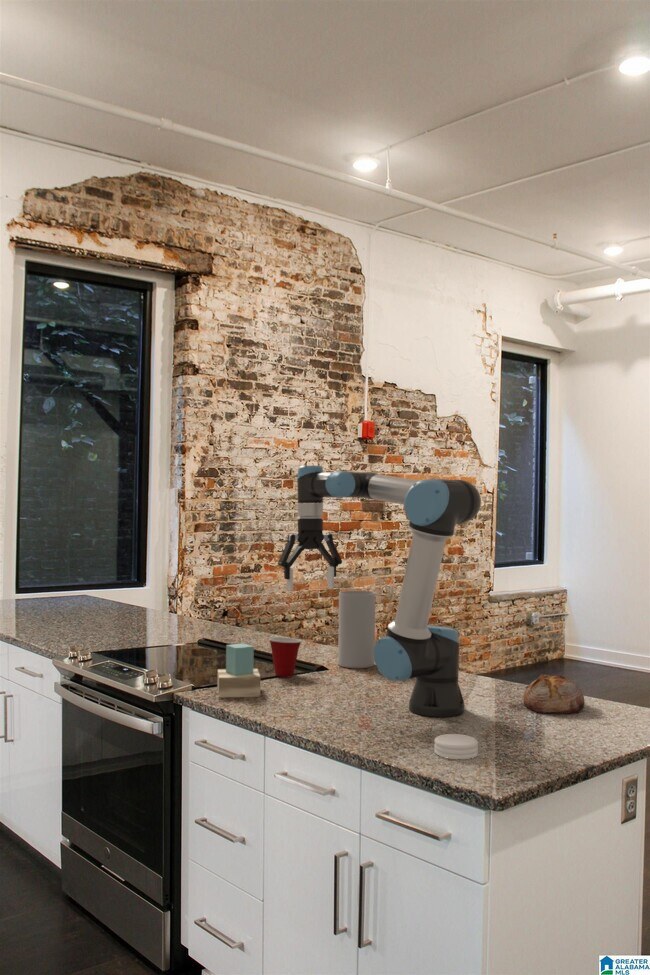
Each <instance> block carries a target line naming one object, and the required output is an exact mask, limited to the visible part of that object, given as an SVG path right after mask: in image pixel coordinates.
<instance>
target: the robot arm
mask: <svg viewBox="0 0 650 975" xmlns="http://www.w3.org/2000/svg"><path fill="white" fill-rule="evenodd" d="M323 470H324V469H323V467H322V466H321V465H301V466H299V467H298V469H297V479H296V482H297V516H298V517H299V518H298V519H297V534H292V533H289V534H288V535H287V541H286V544H285V546H284V548H283V551H282V553H281V555H280V558H279V560H278V562H277V565H278V567H281V568H283V579H284V580H286V591H290V592H294V568H292V566H293V565H294V563H295V562H296V560H298V558H299V556H300V555H301V554H302V553H303V551H305V550H317V551H319V553H320V554H321V556H322V558H324V560H325V561H326V562H327V563H328V565H327V566H326V567H327V572H326V574H327V581H326V582H327V589H331V590H333V589H335V578H336V577H337V567H338V566H339V565H342V564H343V561H342V558H341V556H340V554H339V551H338V549H337V547H336V544H335V543H334V536H333V534H332V533H325V534H323V532H324V519H323V518H322V517H324V498H337V499H338V498H360V499H361V498H362V499H369V500H374V501H375V500H376V501H383V502H387V503H393V504H399V505H403V508H404V512H406V513H405V515H406V519H407V520H408V521H409V523H408V528H409V529H410V531H411V532H412V537H411V542H410V547H409V551H408V556H407V562H406V566H405V571H404V575H403V581H402V585H401V590H400V595H399V599H398V604H397V609H396V614H395V619H394V620H392V621H391V622H389V623H388V625H387V629H386V632H385V633H386V634H385V636H382V637H381V638H380V639H378V640H377V641H375V647H374V660H375V662H374V664H375V666H376V667H377V670H378V671H379V672H380V674H381V675H382V676H383V677H384V678H385V679H388V680H390V681H394V682H397V681H407V680H409V679H415V683H414V685H413V688H412V692H411V696H410V698H409V701H408V703H409V704H408V710H409V711H410V712H411V713H413V714H416V715H421V716H426V717H435V718H443V717H444V718H445V717H449V718H451V717H456V716H457V717H458V716H460V715H462V714H464V713H465V701H464V698H463V695H462V691H461V687H460V685H459V684H460V683H459V670H460V669H459V666H460V665H459V662H460V661H459V659H460V657H459V656H460V654H459V653H460V645H461V644H460V639H459V636H460V635H459V632H458V631H457V630H456V629H454V628H451V627H447V626H446V627H445V626H437V625H429V620H430V615H431V611H432V607H433V602H434V596H435V593H436V592H435V591H436V589H437V588H436V587H437V583H438V578H439V574H440V570H441V565H442V560H443V555H444V552H445V551H444V550H445V546H446V542H447V540H449V539H450V538H452V537H454V532H455V527H456V525H462V524H466V523H468V522H471V521H472V520H473V519H475V518H476V516H477V515H478V513H479V512H480V510H481V507H482V506H481V504H482V499H481V494H480V491H479V490H478V489H477V488H476V486H475V485H473V484H472V483H471V482H469V481H467V480H465V479H446V478H445V479H444V478H442V479H441V478H434V477H433V478H427V479H421V480H419V479H413V478H412V479H411V478H405V477H399V476H391V475H384V474H379V473H377V472H368V471H367V472H359V471H358V472H354V471H345V470H335V471H323ZM323 540H324V541H323ZM296 542H298V544H297V545H296V546H295V548H294V550H293V547H294V544H295V543H296ZM322 542H325V543H326V546H327V548H328V550H327V549H326V547H325V545H324V544H323V543H322ZM292 550H293V551H292ZM291 552H292V553H291ZM329 552H330V553H329ZM329 565H330V566H329Z"/></svg>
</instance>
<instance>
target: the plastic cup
mask: <svg viewBox="0 0 650 975" xmlns="http://www.w3.org/2000/svg"><path fill="white" fill-rule="evenodd" d="M268 640H269V643H270V649H271V655H272V662H273V666H274V669H273V670H274V673H275V674H274V675H275V676H276V677H278V678H279V677H280V678H289V677H293V676H294V673H295V669H296V665H297V664H296V663H297V660H298V653H299V649H300V646H301V643H302V642H303V639H299V638H295V637H294V638H293V637H280V636H279V637H276V636H275V637H269V638H268Z"/></svg>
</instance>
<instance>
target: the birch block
mask: <svg viewBox="0 0 650 975" xmlns="http://www.w3.org/2000/svg"><path fill="white" fill-rule="evenodd" d="M216 684H217V695H218V698H252V697H253V698H254V697H257V698H258V697H261V674H260V672H259V669H258V668H253V674H245V675H237V676H235V675H232V674H230V673H227V672H226V668H218V669H217V683H216Z"/></svg>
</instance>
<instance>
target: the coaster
mask: <svg viewBox="0 0 650 975" xmlns="http://www.w3.org/2000/svg"><path fill="white" fill-rule="evenodd" d="M478 745H479V741H478V739H476V737H474V736H470V735H467V734H466V735H465V734H461V733H460V734H459V733H447V734H446V733H445V734H441V735H438V736H436V737H435V738H434V746H433V747H434V749H433V750H434V751H433V752H434V754H435V753H436V754H437V755H440V756H442V757H448V758H453V759H468V760H471V759H470V758H472V759H475V758H476V757H477V756H478V754H479V752H478V750H479V747H478ZM436 754H435V755H436ZM437 755H436V756H437ZM442 757H441V758H442ZM474 757H475V758H474Z"/></svg>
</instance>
